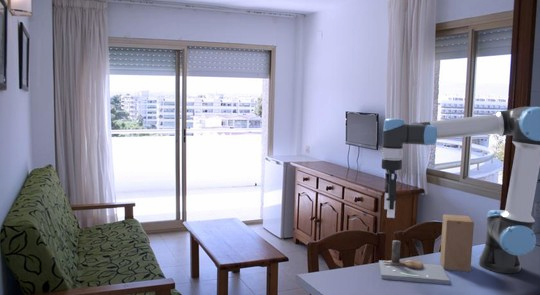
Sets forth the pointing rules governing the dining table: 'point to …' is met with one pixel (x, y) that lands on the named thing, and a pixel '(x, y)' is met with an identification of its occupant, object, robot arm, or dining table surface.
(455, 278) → the dining table surface
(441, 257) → the wooden block
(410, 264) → the dial
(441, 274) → the board
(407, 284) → the dining table surface
